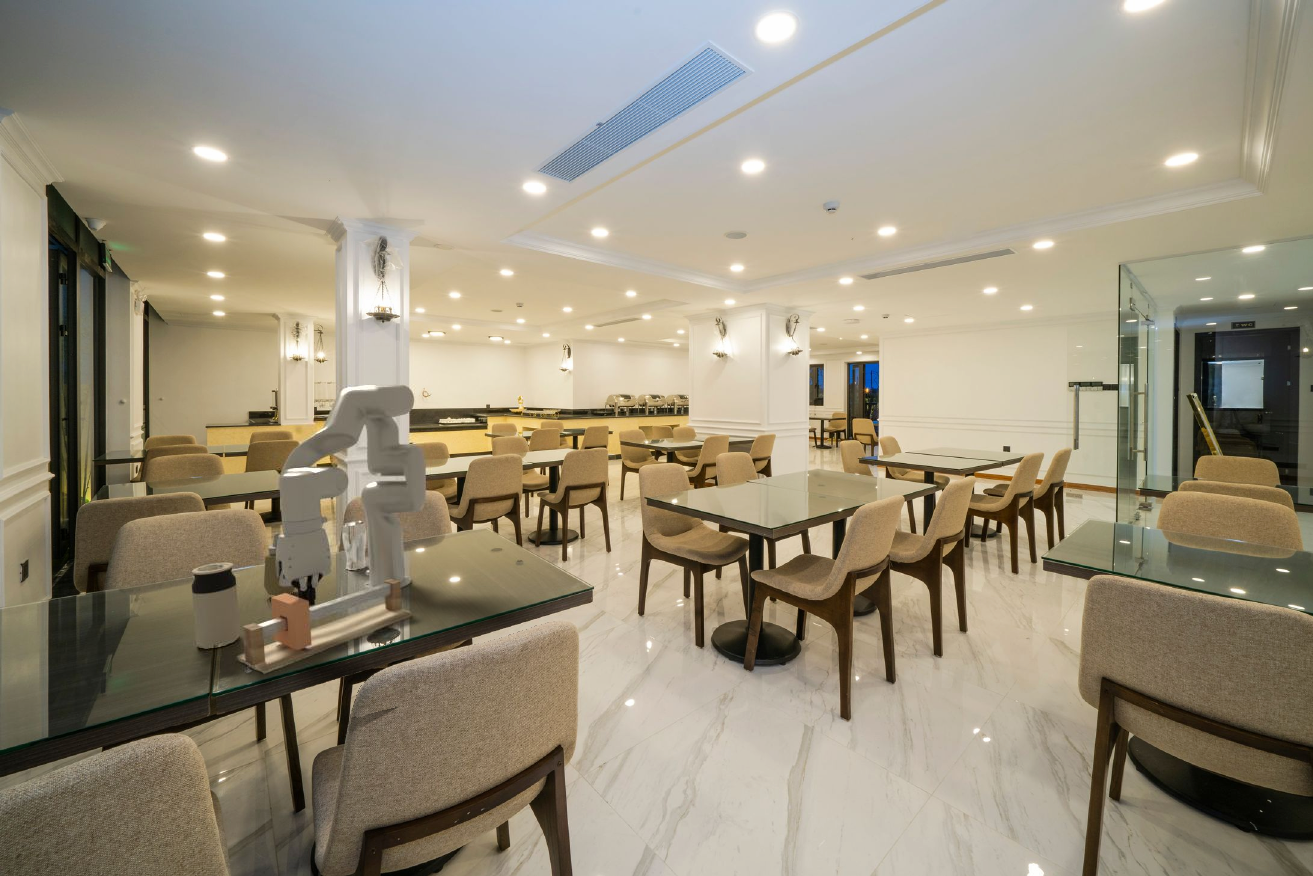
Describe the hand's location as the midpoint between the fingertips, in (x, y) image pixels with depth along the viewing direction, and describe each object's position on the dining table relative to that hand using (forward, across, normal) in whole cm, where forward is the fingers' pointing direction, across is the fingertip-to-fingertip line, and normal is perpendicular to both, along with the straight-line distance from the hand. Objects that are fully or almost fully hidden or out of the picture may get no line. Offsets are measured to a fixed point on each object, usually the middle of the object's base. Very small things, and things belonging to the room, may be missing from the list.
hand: (307, 604), depth 126 cm
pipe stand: (+9, -5, 0) cm, 11 cm away
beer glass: (+9, -38, -46) cm, 60 cm away
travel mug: (+10, +10, -20) cm, 24 cm away
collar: (+8, +4, 0) cm, 8 cm away
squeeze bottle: (+10, -13, -41) cm, 44 cm away
